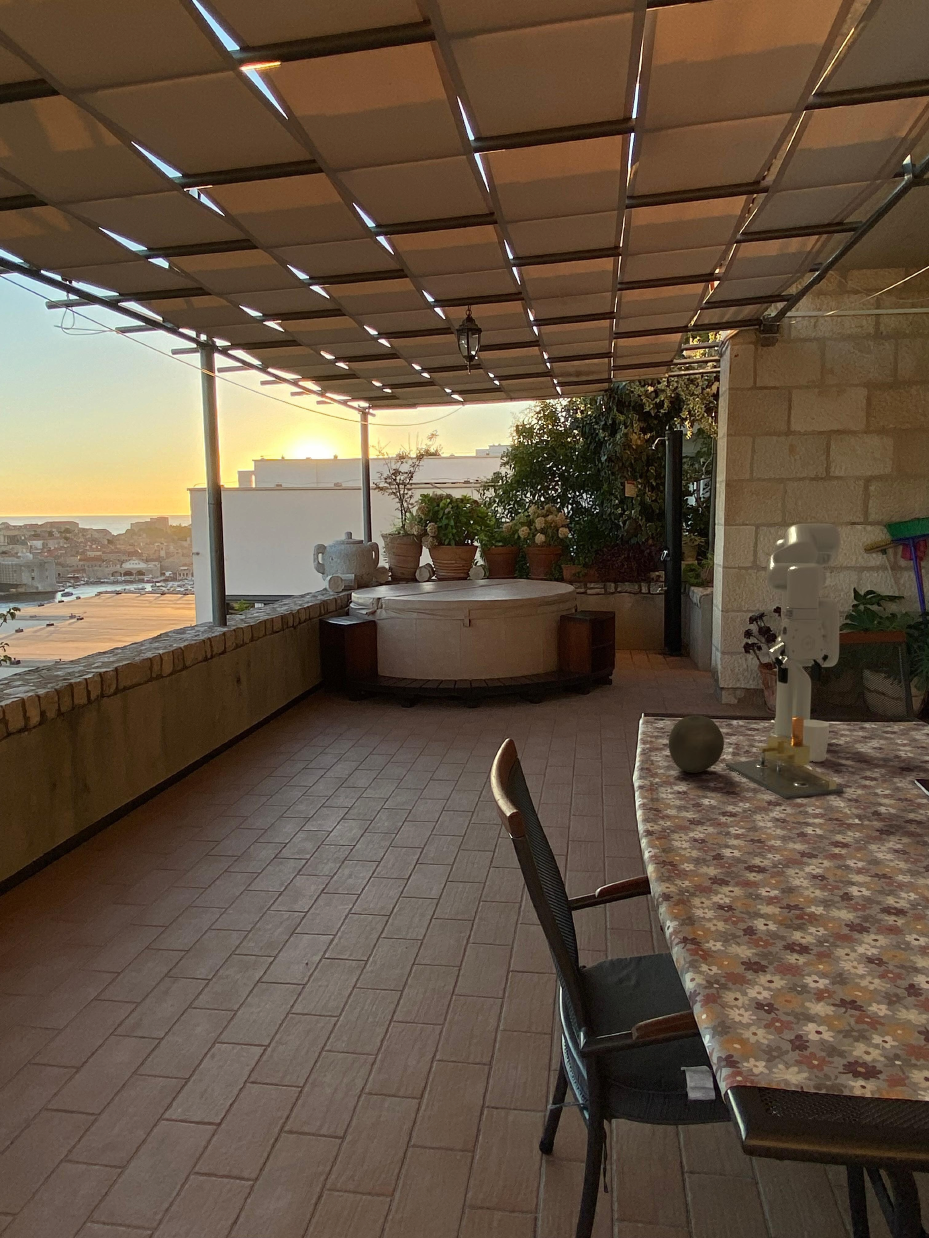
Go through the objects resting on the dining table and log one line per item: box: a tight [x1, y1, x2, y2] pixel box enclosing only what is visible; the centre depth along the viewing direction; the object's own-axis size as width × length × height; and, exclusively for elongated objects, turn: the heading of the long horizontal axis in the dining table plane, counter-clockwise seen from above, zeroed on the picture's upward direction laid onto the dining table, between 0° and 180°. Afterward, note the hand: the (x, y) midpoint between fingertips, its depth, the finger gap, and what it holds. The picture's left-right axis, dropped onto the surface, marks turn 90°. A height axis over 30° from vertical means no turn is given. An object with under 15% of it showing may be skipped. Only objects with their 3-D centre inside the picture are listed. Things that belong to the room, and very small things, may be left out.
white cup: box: [803, 719, 830, 763], centre depth 229 cm, size 8×8×10 cm
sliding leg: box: [775, 717, 810, 773], centre depth 213 cm, size 4×8×14 cm, turn 104°
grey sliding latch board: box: [724, 736, 844, 799], centre depth 212 cm, size 26×16×8 cm, turn 15°
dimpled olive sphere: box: [668, 715, 725, 774], centre depth 218 cm, size 14×14×15 cm
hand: (799, 681), depth 211 cm, fingers open, 9 cm apart
